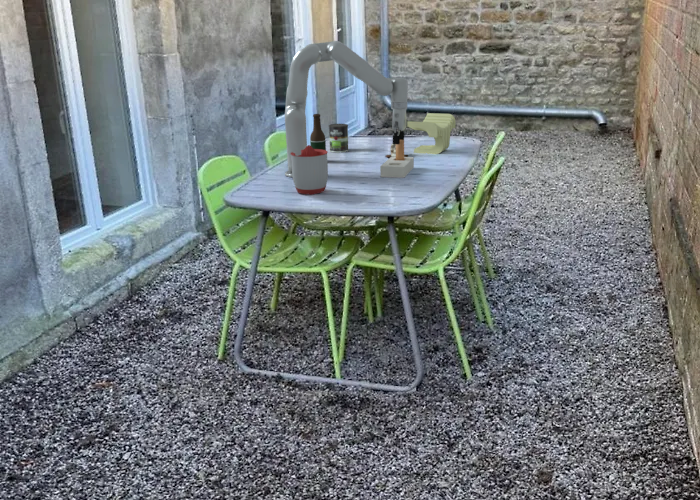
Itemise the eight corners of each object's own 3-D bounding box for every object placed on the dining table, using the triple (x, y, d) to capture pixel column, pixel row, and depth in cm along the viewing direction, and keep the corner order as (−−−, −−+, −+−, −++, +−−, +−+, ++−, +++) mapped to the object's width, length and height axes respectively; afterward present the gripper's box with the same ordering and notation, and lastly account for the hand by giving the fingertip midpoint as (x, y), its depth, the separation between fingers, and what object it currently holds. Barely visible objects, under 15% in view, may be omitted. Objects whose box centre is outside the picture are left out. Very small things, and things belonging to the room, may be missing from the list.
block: (404, 177, 326) (404, 166, 325) (380, 177, 329) (380, 166, 328) (413, 167, 346) (413, 157, 345) (391, 166, 349) (391, 156, 348)
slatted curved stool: (436, 157, 367) (437, 122, 361) (407, 155, 374) (407, 121, 368) (455, 147, 392) (455, 114, 387) (427, 145, 399) (427, 113, 393)
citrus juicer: (306, 185, 319) (304, 140, 312) (336, 190, 308) (335, 143, 302) (282, 192, 307) (279, 146, 301) (312, 198, 297) (309, 150, 290)
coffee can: (345, 153, 386) (344, 126, 382) (327, 152, 389) (326, 126, 385) (351, 149, 395) (350, 123, 391) (333, 148, 398) (332, 123, 394)
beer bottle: (327, 160, 370) (325, 112, 362) (325, 163, 362) (323, 115, 355) (312, 160, 371) (310, 113, 363) (310, 163, 363) (307, 115, 356)
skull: (409, 156, 366) (395, 142, 365) (394, 170, 370) (380, 155, 368) (410, 151, 377) (397, 137, 376) (396, 164, 381) (383, 150, 379)
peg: (403, 170, 340) (403, 141, 336) (395, 170, 342) (394, 140, 337) (405, 168, 344) (404, 139, 340) (396, 168, 345) (396, 139, 341)
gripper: (403, 108, 324) (402, 146, 330) (410, 103, 340) (410, 139, 345) (386, 107, 326) (386, 145, 332) (395, 103, 342) (394, 139, 347)
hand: (398, 142), depth 339 cm, fingers open, 9 cm apart
